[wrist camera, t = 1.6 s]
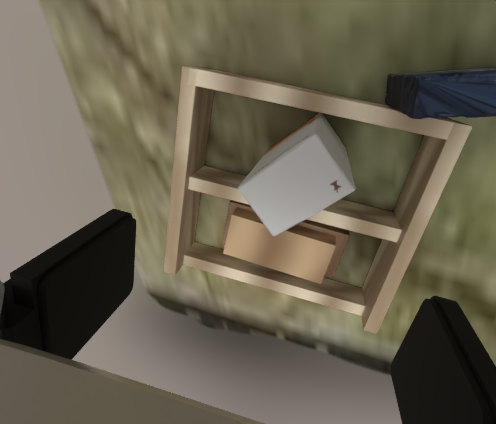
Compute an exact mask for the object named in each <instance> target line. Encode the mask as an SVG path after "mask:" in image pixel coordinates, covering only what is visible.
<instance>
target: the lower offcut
mask: <svg viewBox="0 0 496 424" xmlns="http://www.w3.org/2000/svg"><path fill="white" fill-rule="evenodd" d="M237 207H238V208H242V209H245V210H249V211H252V212H255V211H254V210H253V209H252V207H251V206H250V205H249V204H245V203H241V202H237V201H233V200H231V201H230V205H229V210H228V215H227V220H226V225H225V230H224V235H223V240H222V245H225V243H226V238H227V234H228V229H229V225H230V220H231V216H232V214H233V212H234V211H235V209H236V208H237ZM296 225H299V226H302V227H306V228H309V229H313V230H316V231H319V232H323V233H326V234H329V235H333V236H335V240H336V247H335V250H334V252H333V255H332V257H331V260H330V262H329V265H328V267H327V270H326V273H325V275H326V276H329V277H334V274H335V272H336V269H337V266H338V264H339V261H340V259H341V256H342V253H343V251H344V248H345V246H346V243H347V241H348V238H349V230H346V229H342V228H338V227H335V226H331V225H327V224H323V223H319V222H315V221H311V220H307V219H306V220H304V221H302V222H300V223H298V224H296Z"/></svg>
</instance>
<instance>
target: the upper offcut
mask: <svg viewBox="0 0 496 424" xmlns="http://www.w3.org/2000/svg"><path fill="white" fill-rule="evenodd" d="M335 247H336V240H335V236H333V235H329V234H326V233H323V232H319V231H316V230H313V229H309V228H306V227H302V226H299V225H294V226H293V227H291V228H289V229H287V230H286V231H284V232H282V233H280V234H279V235H277V236H272V235H271V233H270V232H269V231H268V229H267V228H266V226H265V225H264V224H263V222H262V221H261V220H260V218H259V217H258V215H257V214H256V213H255V212H252V211H249V210H245V209H242V208H238V207H237V208H236V209H235V211H234V212H233V214H232V216H231V220H230V225H229V229H228V234H227V238H226V243H225V247H224V252H223V254H226V255H230V256H233V257H236V258H239V259H242V260H245V261H249V262H252V263H255V264H258V265H261V266H265V267H268V268H271V269H274V270H277V271H280V272H284V273H287V274H290V275H293V276H296V277H300V278H303V279H306V280H309V281H312V282H316V283H319V284H321V283H322V280H323V278H324V275H325V273H326V270H327V267H328V265H329V262H330V260H331V257H332V255H333V252H334V250H335Z"/></svg>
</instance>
